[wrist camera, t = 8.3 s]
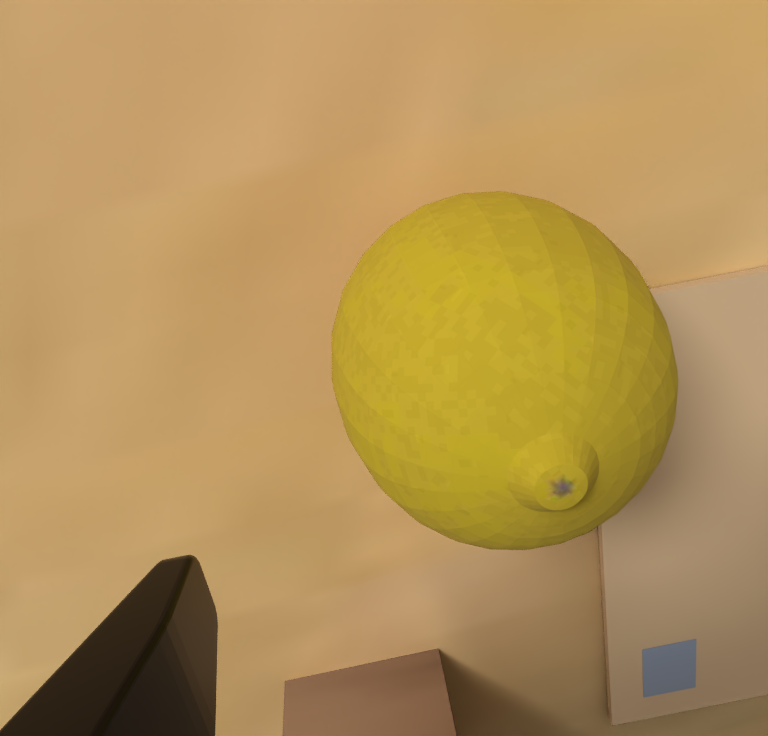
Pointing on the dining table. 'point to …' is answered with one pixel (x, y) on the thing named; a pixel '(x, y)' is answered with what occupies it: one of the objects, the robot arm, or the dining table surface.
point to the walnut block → (372, 700)
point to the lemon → (503, 371)
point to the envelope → (697, 519)
